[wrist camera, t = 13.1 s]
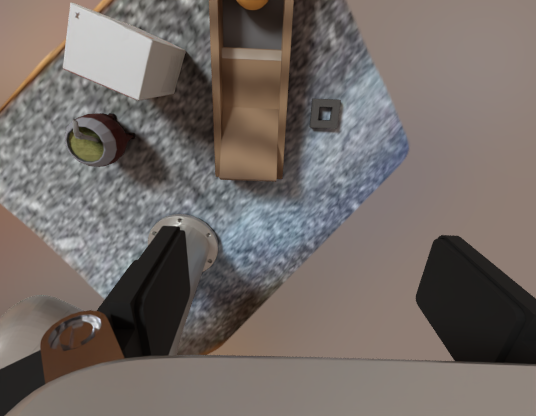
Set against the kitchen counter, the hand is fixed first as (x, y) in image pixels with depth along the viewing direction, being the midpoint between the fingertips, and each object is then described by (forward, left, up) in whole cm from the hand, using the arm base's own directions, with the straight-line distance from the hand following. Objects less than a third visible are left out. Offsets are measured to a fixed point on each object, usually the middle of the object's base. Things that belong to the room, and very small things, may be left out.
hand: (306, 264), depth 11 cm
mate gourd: (-2, +25, -36) cm, 44 cm away
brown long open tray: (+7, +4, -36) cm, 37 cm away
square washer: (+2, -7, -36) cm, 37 cm away
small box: (+8, +18, -36) cm, 41 cm away
